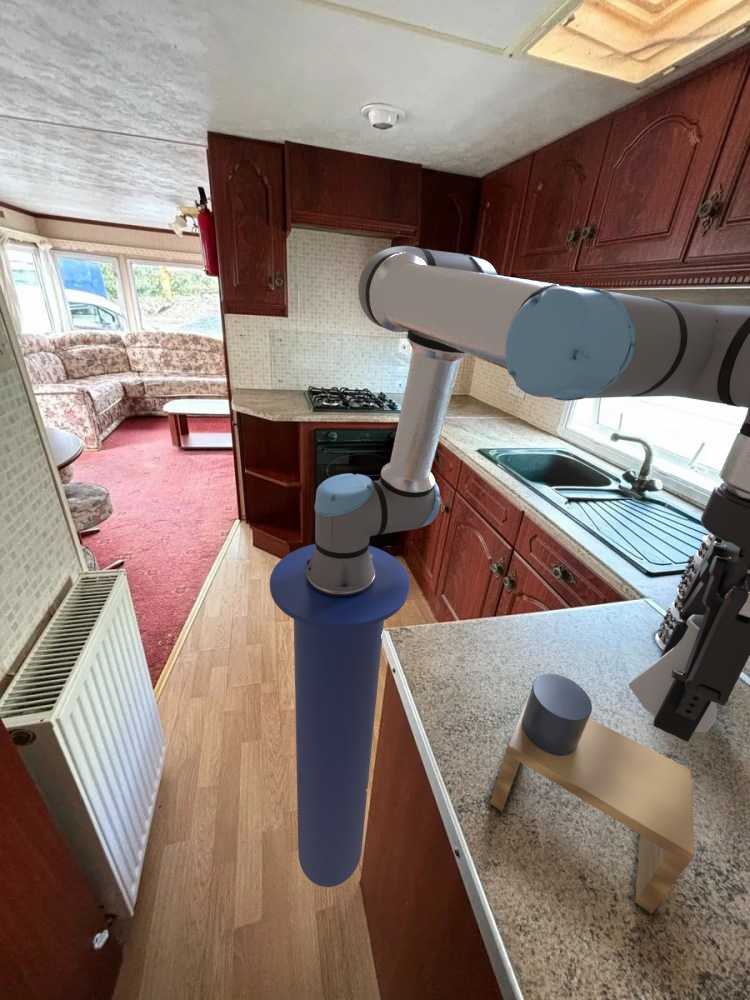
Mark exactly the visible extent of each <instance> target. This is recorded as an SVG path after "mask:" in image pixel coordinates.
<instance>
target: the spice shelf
mask: <svg viewBox="0 0 750 1000" xmlns="http://www.w3.org/2000/svg"><path fill="white" fill-rule="evenodd" d="M530 692H531V689H530V690H529V693H528V695H527V698H526V700H525V703H524V705H523V707H522V709H521V712H520V714H519V717H518V720H517V722H516V725H515V726H514V727H515V728H514V730H513V731H512V732H513V733H512V735H511V738H510V740H509V742H508V745H507V748H506V750H505V755H504V758H503V761H502V764H501V767H500V770H499V774H498V777H497V780H496V783H495V786H494V790H493V793H492V796H491V799H490V804H491V806H493V807H494V808H496V809H498V810H499V811H500V812H503V811H504V808H505V805H506V803H507V800H508V798H509V797H508V796H509V794H510V793H511V792H510V791H511V788H512V786H513V783H514V780H515V777H516V776H517V775H516V774H517V773H518V769H519V766H520V764H523V765H525V766H526V767H528V768H529V769H531V770H533V771H534V772H536V773H538V774H539V775H540V776H542V777H544V778H546V779H547V780H549V781H551V782H553V783H555V784H556V785H558V786H559V787H561V788H562V789H565V790H566V791H567V792H569V793H571V794H572V795H574V796H575V797H576V798H579V799H580V800H583V801H584V802H586V804H589V805H590V806H592V807H593V808H595V809H597V810H599V811H600V812H602V813H604V814H605V815H607V816H609V817H610V818H612V819H613V820H616V821H617V822H618V823H620V824H622V825H623V826H626V827H627V828H629V829H630V830H632V831H634V832H635V833H636V834H638V835H639V841H638V854H637V855H638V856H637V857H638V858H637V872H636V885H635V886H636V888H635V902H634V903H636V904H637V905H638V906H640V907H641V908H643V909H644V910H646V911H647V912H649V913H650V914H654V912H655V911H656V910H657V908H658V907H659V905H660V904H661V903H662V901H663V900H664V899H665V896H666V895H668V893H669V892H670V890H671V889H672V887H674V885H675V883H676V882H677V880H678V879H679V878H680V876H681V875H682V874H683V872H684V871H685V870H686V868H687V866H688V865H689V864H690V862H691V861H692V860H693V858H694V857H695V855H696V854H695V834H694V833H695V832H694V812H693V811H694V809H693V790H692V789H693V788H692V770H691V769H690V768H689V767H687V766H684V765H682V764H680V763H678V762H677V761H675V760H673V759H671V758H669V757H666V756H665V755H663V754H661V753H659V752H657V751H655V750H653V749H651V748H649V747H648V746H646V745H643V744H641V743H639V742H637V741H635V740H633V739H632V738H630V737H628V736H625V735H624V734H621V733H620V732H618V731H616V730H614V729H611V728H610V727H608V726H606V725H604V724H602V723H600V722H598V721H596V720H594V719H592V718H590V717H589V719H588V721H587V724H586V726H585V729H584V731H583V733H582V736H581V738H580V741H579V743H578V745H577V748H576V749H575V751H574V752H573V753H571V754H569V755H566V756H557V755H552V754H549V753H547V752H545V751H543V750H541V749H540V748H538V747H537V746H536V745H535V744H534V743H533V742H532V741H531V740H530V739H529V738H528V736H527V735H526V733H525V731H524V729H523V725H522V717H523V714H524V711H525V708H526V705H527V702H528V698H529V695H530Z"/></svg>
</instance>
